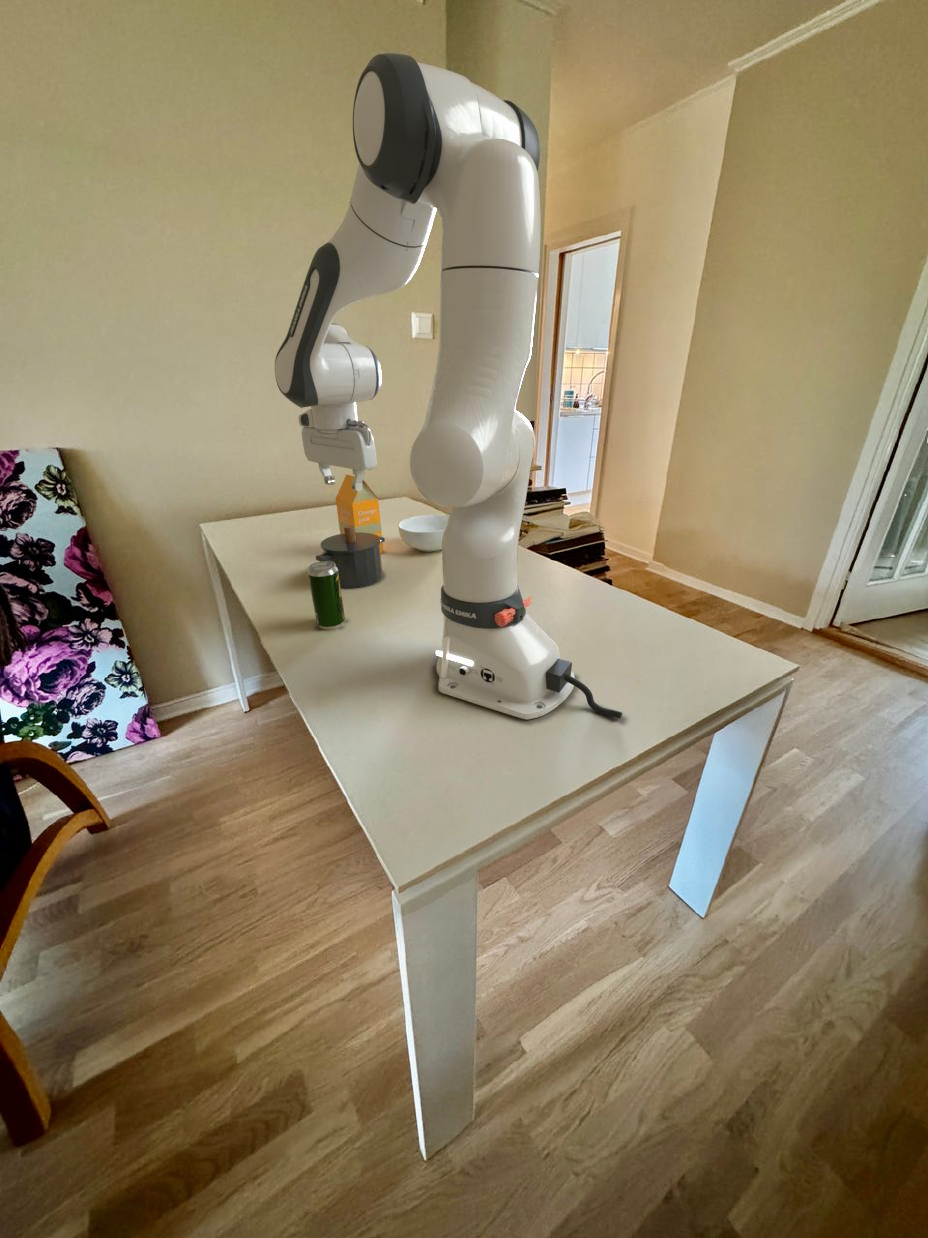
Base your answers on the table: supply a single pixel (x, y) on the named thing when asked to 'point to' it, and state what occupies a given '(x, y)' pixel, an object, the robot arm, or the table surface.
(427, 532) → the cereal bowl
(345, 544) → the pot lid
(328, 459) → the robot arm
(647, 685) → the table surface
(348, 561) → the pot
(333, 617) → the beer can
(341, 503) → the orange juice
